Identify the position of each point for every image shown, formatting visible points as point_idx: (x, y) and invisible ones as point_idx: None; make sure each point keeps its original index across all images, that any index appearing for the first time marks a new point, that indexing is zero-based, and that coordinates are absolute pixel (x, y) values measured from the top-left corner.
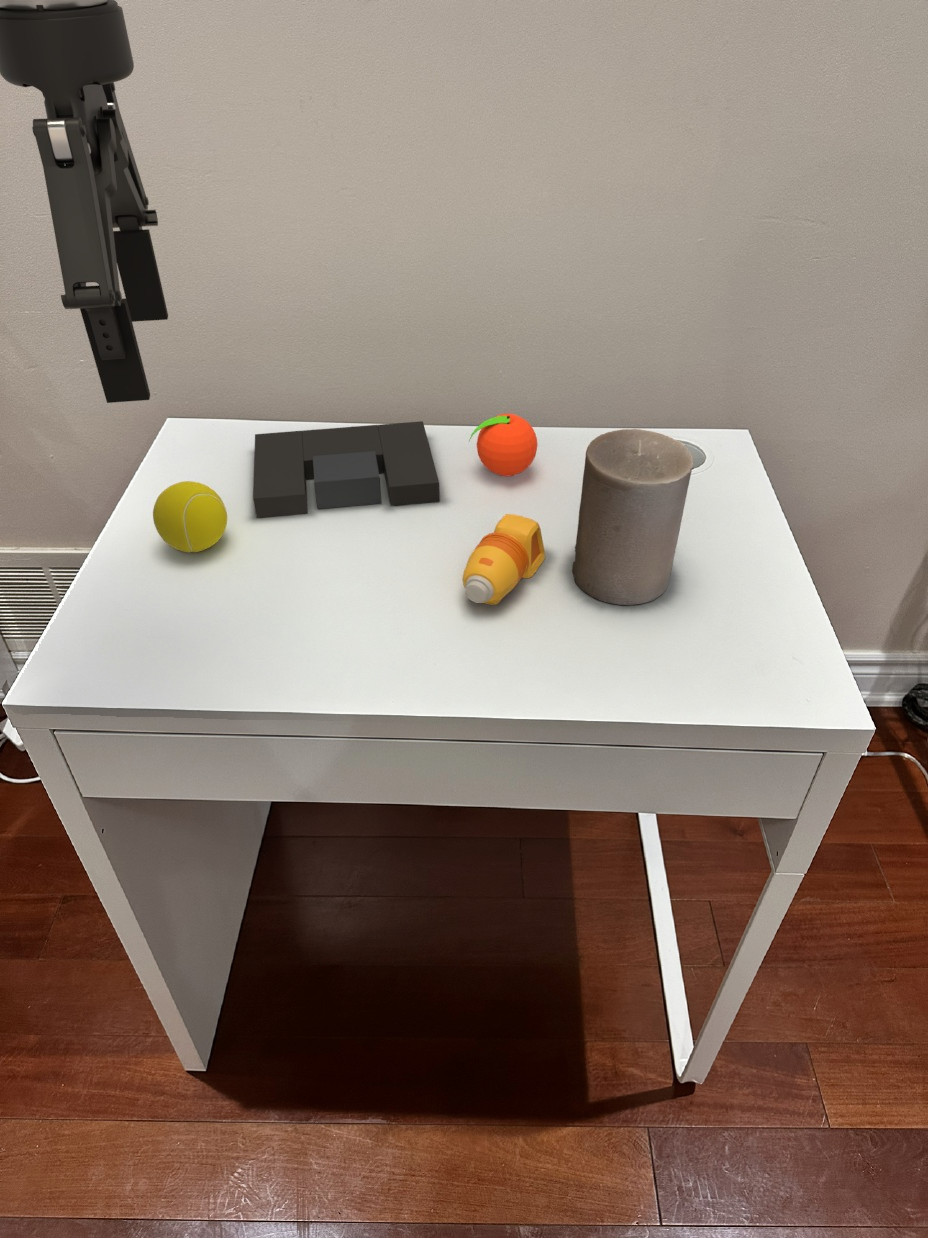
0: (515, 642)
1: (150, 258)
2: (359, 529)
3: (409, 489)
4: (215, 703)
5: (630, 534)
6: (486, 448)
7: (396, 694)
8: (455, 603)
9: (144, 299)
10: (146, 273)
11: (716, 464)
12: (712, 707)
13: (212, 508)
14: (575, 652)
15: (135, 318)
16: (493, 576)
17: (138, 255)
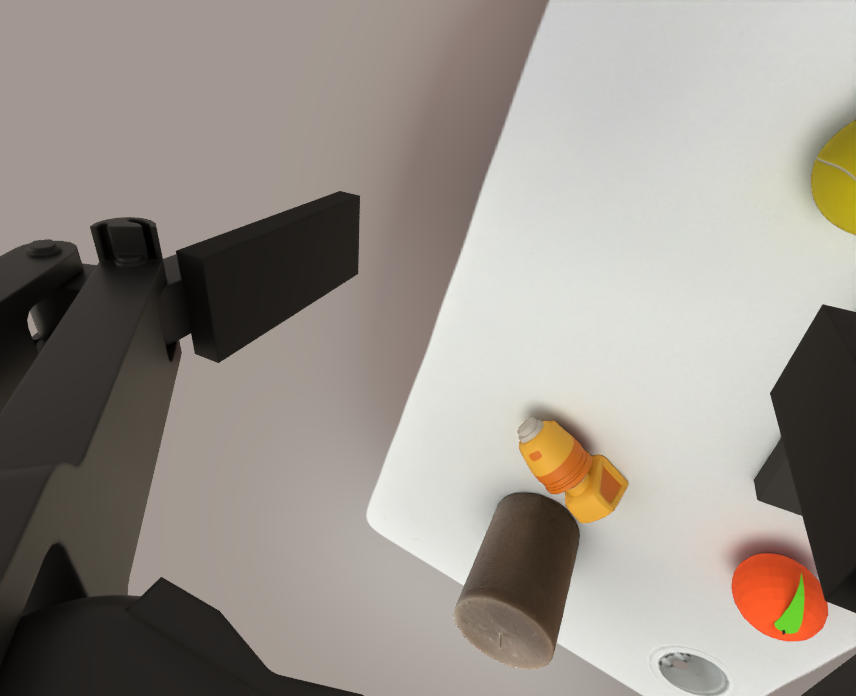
0: (488, 418)
1: (812, 510)
2: (751, 381)
3: (774, 467)
4: (502, 146)
5: (477, 557)
6: (769, 576)
7: (460, 311)
8: (557, 404)
9: (808, 384)
10: (812, 455)
11: (654, 679)
12: (391, 477)
13: (840, 218)
14: (463, 445)
15: (817, 320)
16: (521, 449)
17: (836, 491)
